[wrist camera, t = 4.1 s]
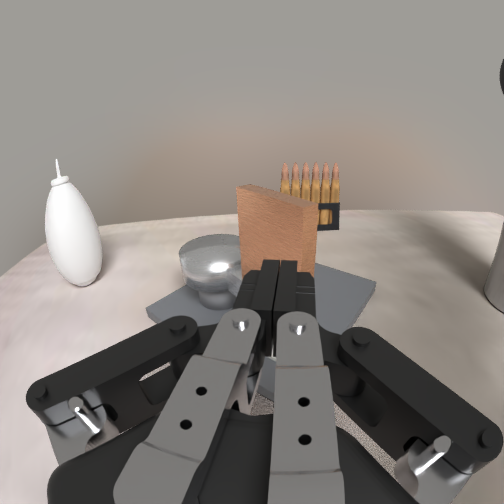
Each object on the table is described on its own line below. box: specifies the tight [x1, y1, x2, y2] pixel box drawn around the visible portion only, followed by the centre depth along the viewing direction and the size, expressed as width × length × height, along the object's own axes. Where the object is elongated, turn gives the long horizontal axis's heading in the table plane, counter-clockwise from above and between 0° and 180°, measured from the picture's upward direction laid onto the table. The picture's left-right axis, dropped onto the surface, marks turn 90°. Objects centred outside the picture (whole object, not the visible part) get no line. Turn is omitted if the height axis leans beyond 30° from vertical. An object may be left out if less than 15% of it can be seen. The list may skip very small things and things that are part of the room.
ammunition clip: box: [280, 162, 340, 231], centre depth 46 cm, size 11×2×12 cm, turn 95°
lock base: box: [146, 263, 376, 402], centre depth 29 cm, size 19×18×4 cm
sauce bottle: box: [45, 159, 102, 286], centre depth 31 cm, size 8×8×18 cm
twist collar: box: [179, 184, 318, 297], centre depth 23 cm, size 16×7×10 cm, turn 36°
